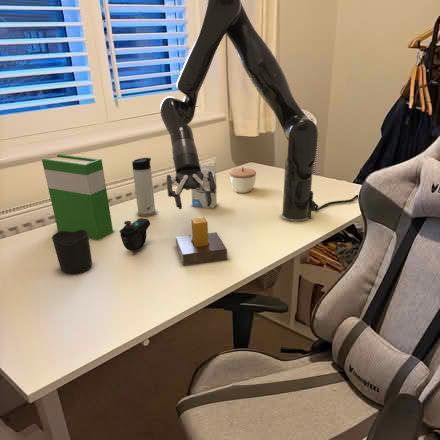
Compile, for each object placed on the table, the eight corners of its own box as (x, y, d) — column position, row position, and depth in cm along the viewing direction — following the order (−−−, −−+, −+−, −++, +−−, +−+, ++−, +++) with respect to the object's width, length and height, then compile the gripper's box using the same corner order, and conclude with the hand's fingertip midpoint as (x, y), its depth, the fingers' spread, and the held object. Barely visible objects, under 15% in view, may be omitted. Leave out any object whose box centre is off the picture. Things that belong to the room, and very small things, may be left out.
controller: (120, 255, 133) (115, 224, 127) (142, 240, 142) (139, 210, 137) (132, 258, 131) (128, 226, 126) (154, 241, 141) (151, 211, 136)
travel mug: (153, 216, 160) (147, 160, 149) (135, 216, 161) (128, 160, 151) (158, 210, 165) (153, 156, 155) (141, 210, 166) (135, 155, 156)
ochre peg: (206, 249, 135) (204, 217, 129) (208, 255, 131) (207, 222, 126) (193, 251, 134) (191, 218, 128) (195, 257, 131) (193, 223, 125)
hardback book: (58, 231, 150) (41, 159, 138) (73, 223, 156) (59, 154, 143) (98, 240, 143) (84, 165, 131) (113, 231, 149) (101, 159, 136)
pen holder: (75, 278, 121) (68, 245, 116) (52, 270, 125) (44, 238, 120) (100, 264, 128) (94, 232, 122) (77, 257, 132) (71, 226, 127)
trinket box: (231, 186, 189) (231, 164, 184) (256, 186, 187) (257, 164, 182) (228, 194, 180) (228, 171, 175) (254, 194, 178) (255, 171, 173)
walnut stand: (216, 242, 139) (216, 232, 137) (227, 259, 128) (226, 248, 127) (176, 247, 137) (175, 236, 135) (183, 265, 126) (182, 254, 124)
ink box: (191, 206, 168) (189, 167, 161) (196, 202, 172) (194, 164, 165) (212, 208, 166) (211, 169, 158) (217, 204, 170) (216, 165, 162)
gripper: (162, 152, 130) (171, 203, 126) (210, 149, 132) (220, 198, 129) (162, 166, 137) (170, 214, 133) (207, 162, 140) (216, 209, 136)
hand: (194, 206), depth 131 cm, fingers open, 8 cm apart
